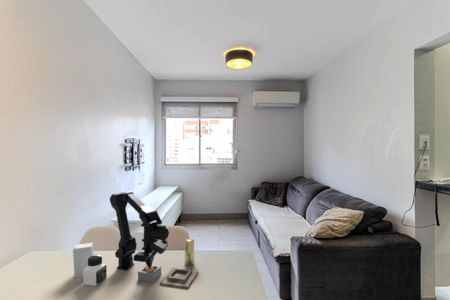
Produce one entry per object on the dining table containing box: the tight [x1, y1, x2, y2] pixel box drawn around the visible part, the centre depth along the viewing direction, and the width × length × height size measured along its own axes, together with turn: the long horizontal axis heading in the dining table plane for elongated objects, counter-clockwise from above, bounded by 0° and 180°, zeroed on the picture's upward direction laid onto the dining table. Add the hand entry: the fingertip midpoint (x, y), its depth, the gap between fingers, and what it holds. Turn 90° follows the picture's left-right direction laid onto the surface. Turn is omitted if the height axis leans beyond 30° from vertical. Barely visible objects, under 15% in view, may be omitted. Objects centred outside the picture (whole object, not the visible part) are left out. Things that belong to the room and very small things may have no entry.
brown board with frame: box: [159, 267, 199, 290], centre depth 121 cm, size 14×14×2 cm
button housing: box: [137, 263, 162, 283], centre depth 122 cm, size 8×8×4 cm
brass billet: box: [184, 238, 195, 267], centre depth 135 cm, size 5×5×13 cm
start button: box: [146, 266, 154, 272], centre depth 122 cm, size 4×4×3 cm
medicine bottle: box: [82, 254, 107, 287], centre depth 118 cm, size 7×7×12 cm
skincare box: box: [72, 242, 94, 279], centre depth 124 cm, size 8×6×15 cm
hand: (149, 267), depth 122 cm, fingers closed, pressing on start button
